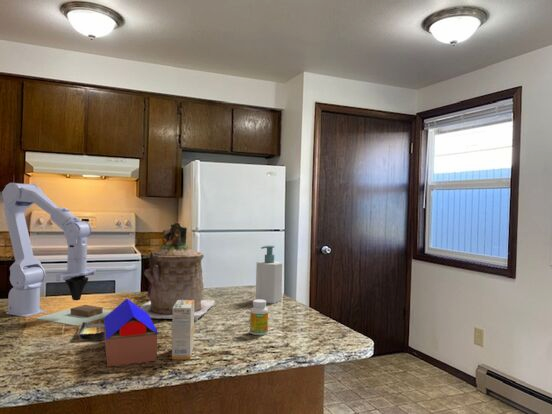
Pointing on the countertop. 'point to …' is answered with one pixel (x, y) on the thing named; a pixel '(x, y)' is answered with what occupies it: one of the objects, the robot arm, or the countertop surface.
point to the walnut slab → (86, 311)
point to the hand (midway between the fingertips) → (76, 299)
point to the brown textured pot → (175, 276)
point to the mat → (72, 317)
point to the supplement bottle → (259, 318)
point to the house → (129, 335)
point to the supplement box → (183, 329)
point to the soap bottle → (269, 278)
